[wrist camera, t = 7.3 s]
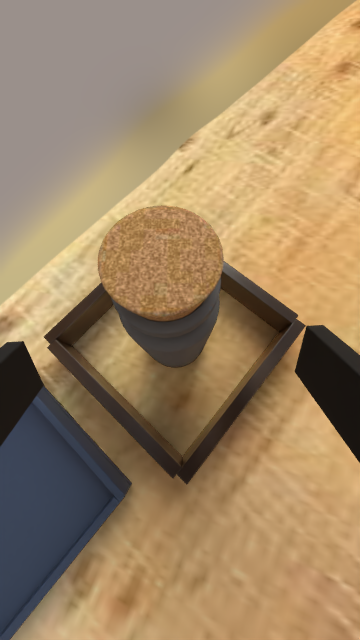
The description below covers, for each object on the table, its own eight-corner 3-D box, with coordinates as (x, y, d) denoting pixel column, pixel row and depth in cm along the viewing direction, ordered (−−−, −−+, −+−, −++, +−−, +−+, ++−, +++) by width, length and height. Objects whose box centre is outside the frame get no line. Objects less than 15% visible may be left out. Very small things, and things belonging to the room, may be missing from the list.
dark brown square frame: (169, 239, 26) (167, 220, 23) (291, 331, 22) (308, 322, 19) (59, 346, 22) (39, 340, 19) (183, 472, 19) (183, 489, 16)
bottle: (138, 356, 22) (52, 302, 8) (158, 304, 24) (118, 178, 9) (194, 376, 21) (215, 355, 7) (211, 321, 23) (256, 213, 9)
